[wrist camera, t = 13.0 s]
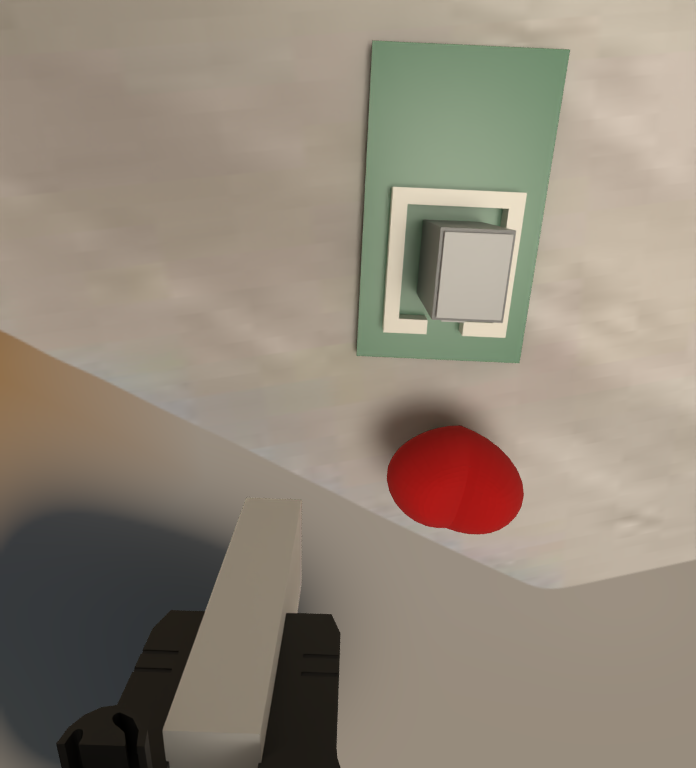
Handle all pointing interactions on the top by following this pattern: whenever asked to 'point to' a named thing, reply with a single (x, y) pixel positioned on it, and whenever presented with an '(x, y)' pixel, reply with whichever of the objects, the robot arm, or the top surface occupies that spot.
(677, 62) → the top surface
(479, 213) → the board
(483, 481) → the light bulb
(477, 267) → the plug
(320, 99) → the top surface
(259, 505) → the robot arm
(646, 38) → the top surface
